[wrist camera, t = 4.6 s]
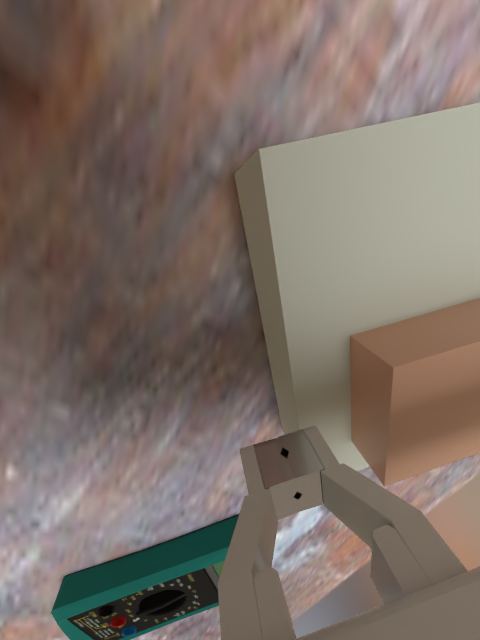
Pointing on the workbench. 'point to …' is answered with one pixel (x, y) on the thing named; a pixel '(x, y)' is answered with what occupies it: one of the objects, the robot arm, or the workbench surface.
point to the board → (357, 249)
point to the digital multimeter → (145, 587)
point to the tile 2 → (417, 392)
